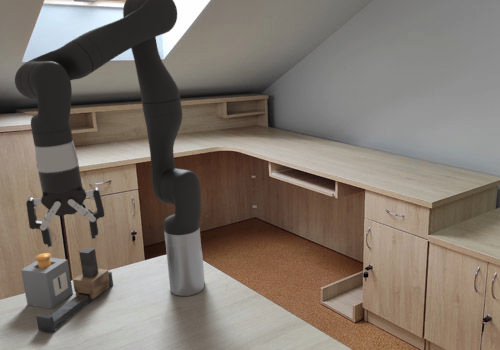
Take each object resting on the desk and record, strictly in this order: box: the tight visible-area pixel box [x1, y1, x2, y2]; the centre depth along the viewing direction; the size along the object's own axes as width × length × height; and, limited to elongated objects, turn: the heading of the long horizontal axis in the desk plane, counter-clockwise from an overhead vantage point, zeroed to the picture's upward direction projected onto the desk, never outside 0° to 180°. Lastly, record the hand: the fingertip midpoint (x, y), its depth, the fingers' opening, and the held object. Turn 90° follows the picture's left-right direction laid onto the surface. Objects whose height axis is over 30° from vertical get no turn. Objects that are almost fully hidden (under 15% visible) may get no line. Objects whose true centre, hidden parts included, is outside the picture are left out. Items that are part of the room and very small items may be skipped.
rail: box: [35, 271, 114, 334], centre depth 122 cm, size 24×4×4 cm, turn 160°
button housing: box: [20, 257, 74, 310], centre depth 125 cm, size 8×9×10 cm
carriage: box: [72, 247, 110, 300], centre depth 126 cm, size 7×6×12 cm
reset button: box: [35, 252, 52, 269], centre depth 124 cm, size 4×4×6 cm
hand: (72, 241), depth 98 cm, fingers open, 8 cm apart
